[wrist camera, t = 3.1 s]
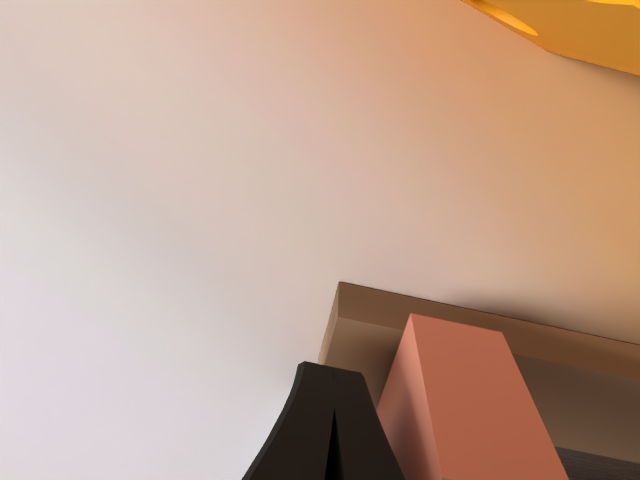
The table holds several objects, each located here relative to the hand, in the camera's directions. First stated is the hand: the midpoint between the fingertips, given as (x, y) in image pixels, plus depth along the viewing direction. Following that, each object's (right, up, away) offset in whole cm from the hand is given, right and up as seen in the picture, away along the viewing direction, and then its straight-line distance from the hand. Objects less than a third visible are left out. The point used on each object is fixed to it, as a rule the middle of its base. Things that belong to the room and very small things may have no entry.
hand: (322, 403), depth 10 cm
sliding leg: (+2, -2, +2) cm, 4 cm away
